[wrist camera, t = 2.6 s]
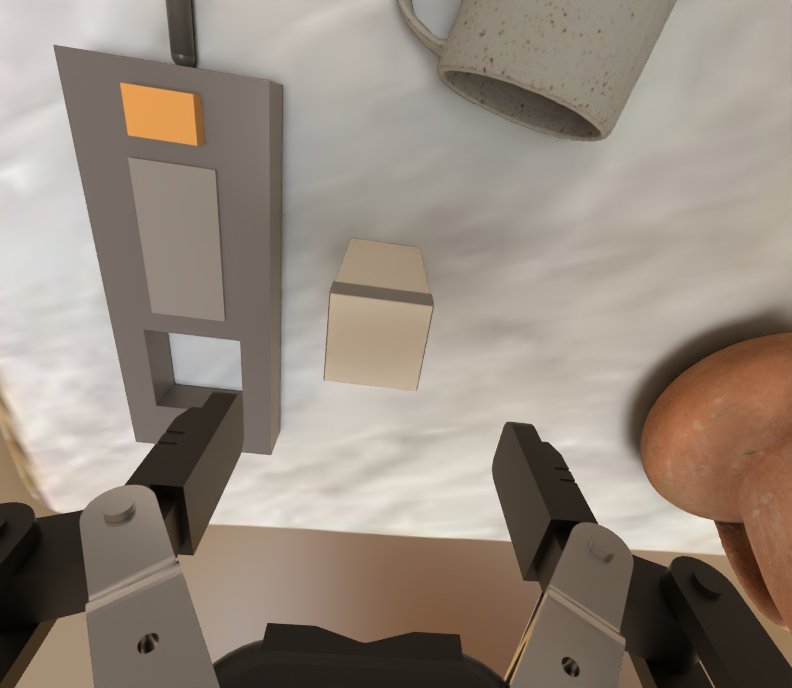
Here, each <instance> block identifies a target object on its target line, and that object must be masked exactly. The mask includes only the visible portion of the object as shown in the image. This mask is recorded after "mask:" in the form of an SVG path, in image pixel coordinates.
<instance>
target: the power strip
mask: <svg viewBox="0 0 792 688" xmlns="http://www.w3.org/2000/svg"><path fill="white" fill-rule="evenodd" d="M166 8H167V18H168V28H169V38H170V49H171V56H172V59H173V61H174V62H175V64H176V65H173V64H167V63H161V62H155V61H149V60H143V59H137V58H131V57H125V56H118V55H112V54H106V53H100V52H94V51H88V50H82V49H76V48H70V47H64V46H58V45H53V46H54V51H55V56H56V61H57V65H58V70H59V75H60V80H61V84H62V89H63V94H64V99H65V104H66V108H67V113H68V118H69V123H70V128H71V132H72V137H73V142H74V147H75V151H76V156H77V161H78V166H79V171H80V175H81V180H82V185H83V190H84V195H85V199H86V204H87V209H88V214H89V219H90V223H91V228H92V233H93V238H94V242H95V247H96V252H97V257H98V262H99V266H100V271H101V276H102V281H103V286H104V290H105V295H106V300H107V305H108V309H109V314H110V319H111V324H112V329H113V333H114V338H115V343H116V348H117V353H118V357H119V362H120V367H121V372H122V377H123V381H124V386H125V391H126V396H127V400H128V405H129V410H130V415H131V420H132V424H133V429H134V434H135V439H136V442H143V443H153V444H157V443H158V440H159V439H160V438H161V436H162V435H163V434H164V433H166V430H167V428H168V427H169V426H170V424H171V423H172V422H173V420H174V419H175V418H176V417H177V416H179V415H180V414H182V413H183V412H185V411H186V410H188V409H189V408H191V407H199V408H202V407H203V405H204V404H205V402H206V401H207V399H208V398H209V396H210V395H211V394H212V393H213V392H225V393H235V394H241V396H242V401H243V421H244V443H243V448H242V452H245V453H255V454H265V455H271V454H272V451H273V449H274V446H275V443H276V441H277V438H278V435H279V433H280V369H281V242H282V115H283V86H282V85H280V84H277V83H275V82H272V81H270V80H264V79H258V78H252V77H246V76H240V75H234V74H228V73H222V72H216V71H210V70H204V69H198V68H191V67H193V65H194V63H195V51H194V38H193V25H192V12H191V0H166ZM168 332H169V333H178V334H186V335H195V336H203V337H212V338H220V339H229V340H237V341H240V344H241V366H242V388H243V392H242V391H233V390H224V389H215V388H205V387H196V386H187V385H178V384H175V381H174V374H173V367H172V360H171V352H170V345H169V338H168Z"/></svg>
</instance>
